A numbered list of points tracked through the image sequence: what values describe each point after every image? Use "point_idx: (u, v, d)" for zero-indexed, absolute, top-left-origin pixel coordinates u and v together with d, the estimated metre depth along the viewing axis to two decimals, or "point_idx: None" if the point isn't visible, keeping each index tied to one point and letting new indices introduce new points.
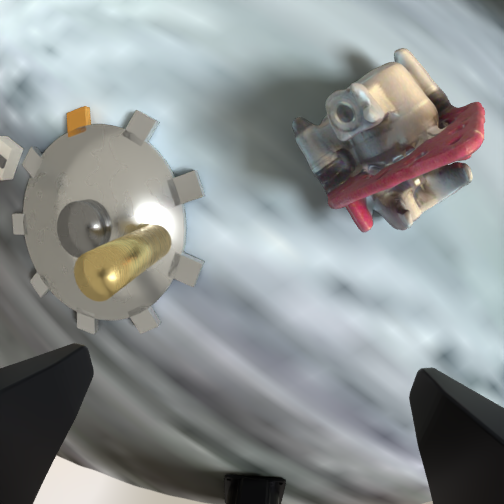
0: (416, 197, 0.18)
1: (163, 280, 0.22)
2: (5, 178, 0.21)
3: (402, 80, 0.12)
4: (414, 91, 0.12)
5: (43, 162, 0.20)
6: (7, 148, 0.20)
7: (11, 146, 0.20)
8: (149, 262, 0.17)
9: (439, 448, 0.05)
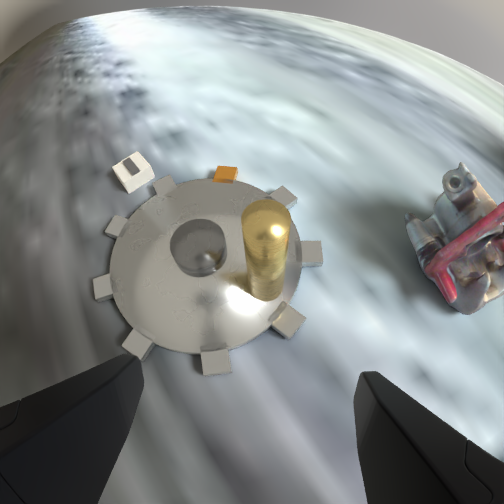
0: None
1: (259, 323, 0.21)
2: (126, 185, 0.28)
3: (480, 185, 0.19)
4: (486, 193, 0.19)
5: (177, 189, 0.27)
6: (145, 163, 0.28)
7: (149, 166, 0.28)
8: (282, 270, 0.19)
9: (374, 458, 0.05)
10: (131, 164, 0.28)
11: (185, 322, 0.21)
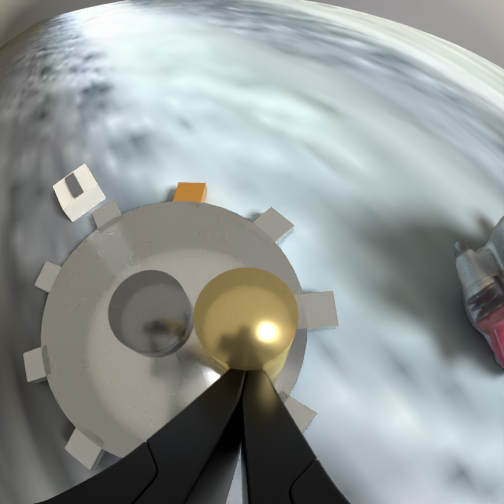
0: None
1: None
2: (67, 212, 0.19)
3: None
4: None
5: (123, 221, 0.19)
6: (91, 181, 0.20)
7: (97, 184, 0.20)
8: (280, 370, 0.10)
9: (241, 459, 0.05)
10: (74, 182, 0.19)
11: (141, 424, 0.13)
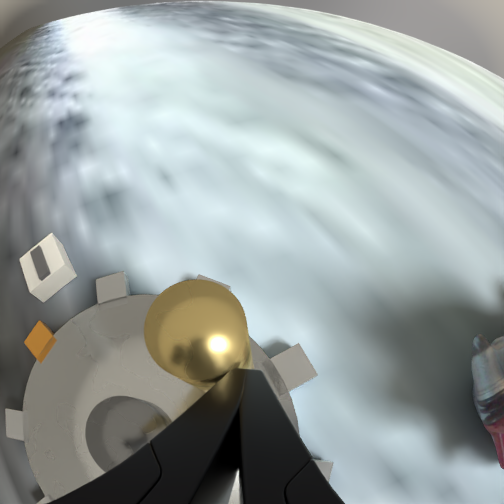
0: None
1: None
2: (36, 294, 0.16)
3: None
4: None
5: (29, 413, 0.12)
6: (58, 259, 0.17)
7: (65, 262, 0.17)
8: None
9: (238, 458, 0.05)
10: (39, 260, 0.16)
11: (237, 499, 0.11)
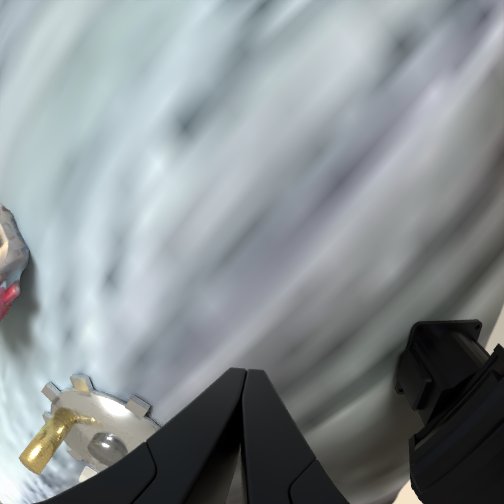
0: (1, 243, 0.19)
1: (62, 398, 0.25)
2: None
3: None
4: None
5: None
6: (82, 476, 0.28)
7: (82, 473, 0.28)
8: None
9: (241, 459, 0.05)
10: None
11: (105, 412, 0.24)
